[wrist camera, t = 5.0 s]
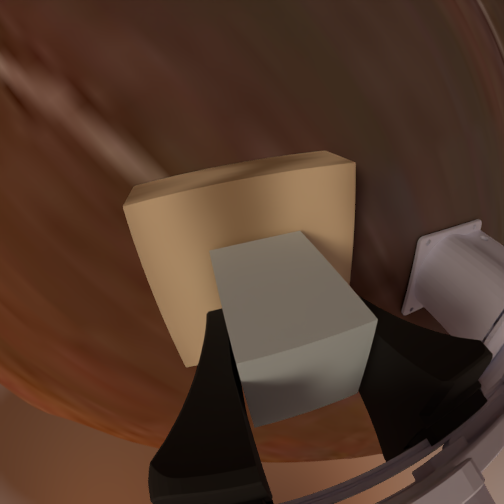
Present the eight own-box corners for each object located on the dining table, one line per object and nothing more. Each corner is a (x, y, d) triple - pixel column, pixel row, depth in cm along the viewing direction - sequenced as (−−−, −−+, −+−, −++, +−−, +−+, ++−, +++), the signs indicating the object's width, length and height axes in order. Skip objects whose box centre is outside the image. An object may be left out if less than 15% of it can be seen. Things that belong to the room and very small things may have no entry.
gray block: (300, 230, 12) (377, 319, 7) (302, 300, 14) (357, 392, 9) (209, 250, 12) (236, 363, 7) (225, 320, 14) (254, 427, 9)
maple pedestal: (325, 150, 14) (355, 162, 12) (325, 296, 19) (344, 324, 17) (134, 186, 13) (122, 206, 10) (182, 332, 18) (185, 367, 15)
